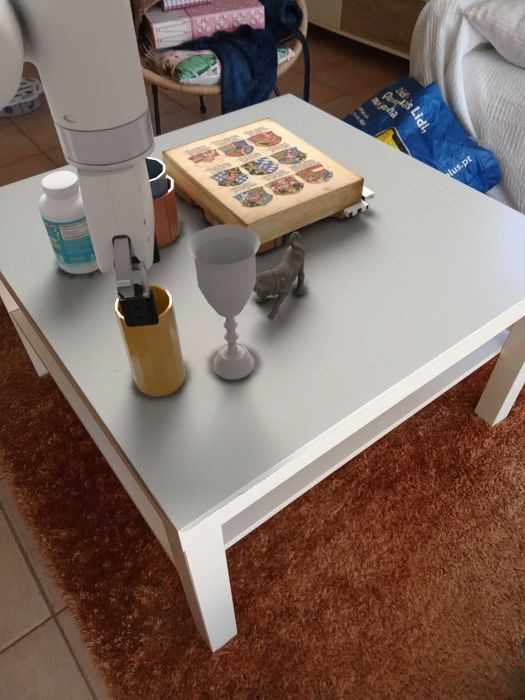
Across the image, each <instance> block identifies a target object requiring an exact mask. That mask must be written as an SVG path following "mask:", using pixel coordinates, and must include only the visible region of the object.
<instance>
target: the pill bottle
mask: <svg viewBox="0 0 525 700" xmlns="http://www.w3.org/2000/svg"><path fill="white" fill-rule="evenodd" d="M41 187H42V190H43V194H42V195H41V197H40V198H39V200H38V211H39V213H40V216H41V219H42V222H43V224H44V227H45V230H46V233H47V236H48V239H49V241H50V245H51V247H52V251H53V253H54V256H55V258H56V261H57V264H58V266H59V268H61V269H62V271H64V272H66V273H67V274H73V275H86V274H89V273H93V272H95V271H97V270H99V267H98V263H97V260H96V256H95V252H94V248H93V244H92V240H91V236H90V232H89V228H88V224H87V220H86V216H85V211H84V207H83V202H82V197H81V192H80V186H79V180H78V174H76V173H74V172H72V171H68V170H59V171H55V172H52V173H51V172H50V173H49V174H47V175H46V176H44V177H43V179H42V180H41Z"/></svg>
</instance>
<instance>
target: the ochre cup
mask: <svg viewBox="0 0 525 700" xmlns="http://www.w3.org/2000/svg"><path fill="white" fill-rule="evenodd" d="M149 290H153V293H154V298H155V302H156V306H157V311H158V315H159V323H158V324H156V325H147V326H137V327H128V326H127V325H126V323H125V319H124V316H123V313H122V309H121V306H120V302H119V299H118V298H116V299H115V302H114V313H115V317H116V320H117V324H118V327H119V331H120V335H121V339H122V342H123V345H124V350H125V353H126V356H127V360H128V363H129V367H130V370H131V374H132V377H133V381H134V383H135V385H136V388H137V390H139V391H140V392H141V393H143V394H145V395H148V396H150V397H162V396H167V395H169V394H172V393H174V392H176V391H177V390H178V389H179V388H181V386H182V385H183V383H184V381H185V378H186V370H185V363H184V357H183V352H182V346H181V340H180V334H179V328H178V323H177V317H176V312H175V306H174V300H173V296H172V295H171V293H170V292H169V290H168V289H166V288H164V287H162V286H160V285H157V284H149Z"/></svg>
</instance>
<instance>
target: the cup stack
mask: <svg viewBox="0 0 525 700" xmlns="http://www.w3.org/2000/svg"><path fill="white" fill-rule="evenodd" d="M145 162H146V166H147V171H148V176H149V181H150V187H151V193H152V199H153V207H154V229H155V233H156V238H157V243H158V247H159V249H160V248H162V247H164V246H166V245H169V244H172V243H173V242H174V241H175V240H176V239H177V238H178V236H180V234H181V223H180V215H179V209H178V208H179V207H178V201H177V195H176V194H177V193H176V192H175V187H174V180H173V179H172V178H171V177H170V176H168V175H167V172H166V166H165V164H164V163H163V162H162V161H161V160H160V159H159V158H154V157H150V156H149V157H147V158H146V159H145Z"/></svg>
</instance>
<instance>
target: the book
mask: <svg viewBox="0 0 525 700" xmlns="http://www.w3.org/2000/svg"><path fill="white" fill-rule="evenodd" d="M161 155H162V161H163V162H162V163H164V164H165V166H166V172H167V175H168V176H170V177H171V178H172V179H173V180H174V187H175V194H177V195H178V196H179V197H180V198H182V199H183V200H184V201H185V202H186V203H188V204H189V205H190V206H197V207H201V208H202V209H203V211H204V214H205V215H204V216H205V219H206V221H207V222H208V223H209V224H210V225H212V226H215V225H224V224H232V225H240V226H243V227H247V228H249V229H251V230H252V231H254V232H255V233H256V234H257V235H258V236H259V239H260V246H259V248H258V250H257V252H256V254H255V255H259V254H261V253H264V252H266V251H269V250H273V249H274V248H278V247H281V246H282V245H283V236H285V235H288V234H289V233H291V232H292V233H293V232H295V231H296V230H298V229H301V228H304V227H305V226H308V225H311V224H313V223H315V222H318V221H319V220H322V219H326V218H327V217H328V218H329V217H331V218H332V217H334V218H337V219H339V220H342V219H345V218H346V217H347V218H350V217H353V216H356V215H358V214H360V213H362V212H364V211H367V210H369V207H370V205H369V204H368V203H367V202H366V201H370V200H371V199H373V198H375V191H372V190H371V189H369V188H367V187H366V186H364V183H365V177H362V176H361V175H359V174H358V173H356V172H354V171H353V170H352V169H350V168H349V167H347V166H345V165H344V164H342V163H340V162H339V161H338V160H336V159H334V158H333V157H331V156H329V155H328V154H326V153H325V152H324V151H322V150H321V149H319V148H317V147H316V146H314V145H313V144H311V143H309V142H308V141H307V140H305V139H303V138H301V136H298V135H297V134H295V133H294V132H292V131H291V130H289V129H287V128H286V127H284V126H283V125H281V124H280V123H278V122H277V121H275V120H273V119H272V118H270V117H266V118H262V119H259V120H256V121H253V122H249V123H247V124H244V125H241V126H237V127H233V128H232V129H228V130H225V131H222V132H219V133H216V134H213V135H210V136H207V137H203V138H200V139H197V140H195V141H191V142H188V143H185V144H182V145H178V146H175V147H172V148H169V149H165V150H162V151H161Z"/></svg>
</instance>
